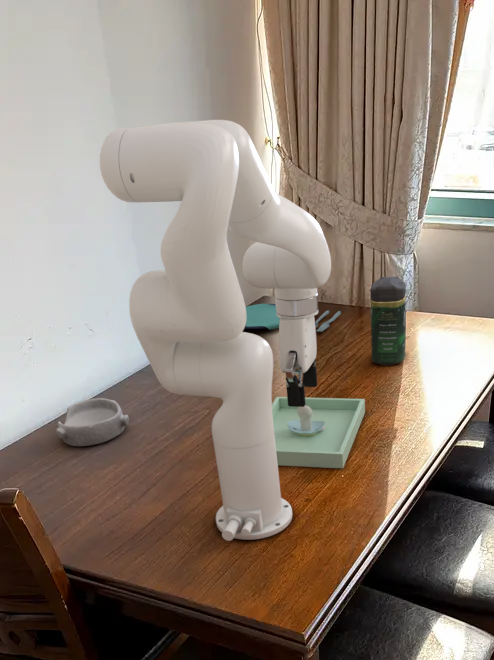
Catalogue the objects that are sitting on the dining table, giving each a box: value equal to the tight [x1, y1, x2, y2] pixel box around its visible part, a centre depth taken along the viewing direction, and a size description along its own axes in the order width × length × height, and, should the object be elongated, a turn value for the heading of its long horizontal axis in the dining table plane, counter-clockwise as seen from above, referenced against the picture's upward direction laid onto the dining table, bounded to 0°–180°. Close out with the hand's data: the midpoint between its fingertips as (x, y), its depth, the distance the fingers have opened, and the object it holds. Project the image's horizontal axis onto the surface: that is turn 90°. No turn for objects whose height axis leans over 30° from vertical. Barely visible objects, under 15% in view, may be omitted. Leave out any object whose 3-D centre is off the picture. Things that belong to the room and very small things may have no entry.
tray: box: [272, 396, 366, 469], centre depth 150 cm, size 24×19×3 cm
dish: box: [55, 397, 130, 447], centre depth 160 cm, size 14×14×5 cm
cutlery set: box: [244, 302, 342, 333], centre depth 210 cm, size 20×30×2 cm, turn 64°
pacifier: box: [287, 405, 325, 436], centre depth 150 cm, size 7×6×6 cm
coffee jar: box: [369, 276, 407, 366], centre depth 177 cm, size 10×8×19 cm
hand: (303, 395), depth 146 cm, fingers open, 9 cm apart
